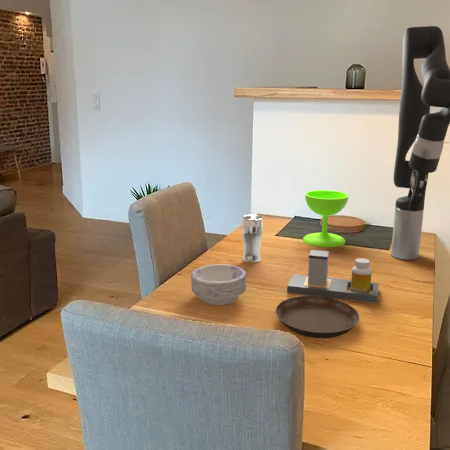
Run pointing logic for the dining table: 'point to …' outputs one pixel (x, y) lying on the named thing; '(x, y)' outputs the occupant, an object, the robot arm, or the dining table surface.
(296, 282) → the gray slotted tray
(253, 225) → the beer glass
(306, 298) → the plant saucer
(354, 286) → the supplement bottle
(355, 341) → the dining table surface
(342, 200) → the wineglass
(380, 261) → the dining table surface
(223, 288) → the paper bowls
